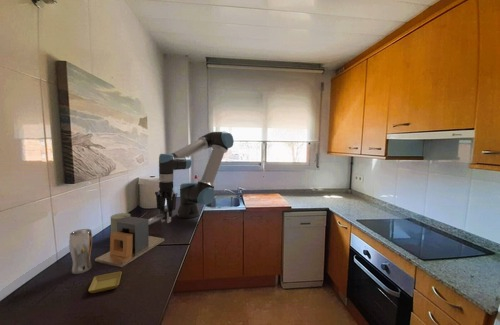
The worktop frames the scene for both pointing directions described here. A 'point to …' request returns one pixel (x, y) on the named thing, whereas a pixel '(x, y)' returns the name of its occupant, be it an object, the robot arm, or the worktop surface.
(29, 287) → the worktop surface
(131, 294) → the worktop surface
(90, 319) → the worktop surface
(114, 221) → the can
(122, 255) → the strip
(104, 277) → the saucer
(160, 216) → the shaft
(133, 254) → the block
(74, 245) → the beer glass
